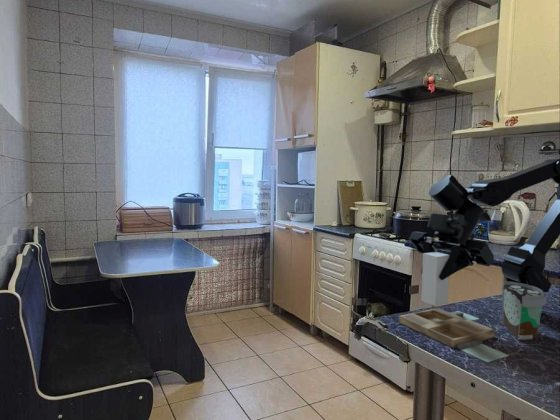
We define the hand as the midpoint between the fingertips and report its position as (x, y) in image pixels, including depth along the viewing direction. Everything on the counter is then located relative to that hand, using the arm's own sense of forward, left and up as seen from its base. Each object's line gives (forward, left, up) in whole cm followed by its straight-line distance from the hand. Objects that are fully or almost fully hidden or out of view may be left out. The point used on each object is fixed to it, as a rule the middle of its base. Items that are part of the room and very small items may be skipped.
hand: (431, 276), depth 90 cm
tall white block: (-1, 0, -6) cm, 6 cm away
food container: (-14, +13, -12) cm, 22 cm away
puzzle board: (-4, +7, -11) cm, 14 cm away
